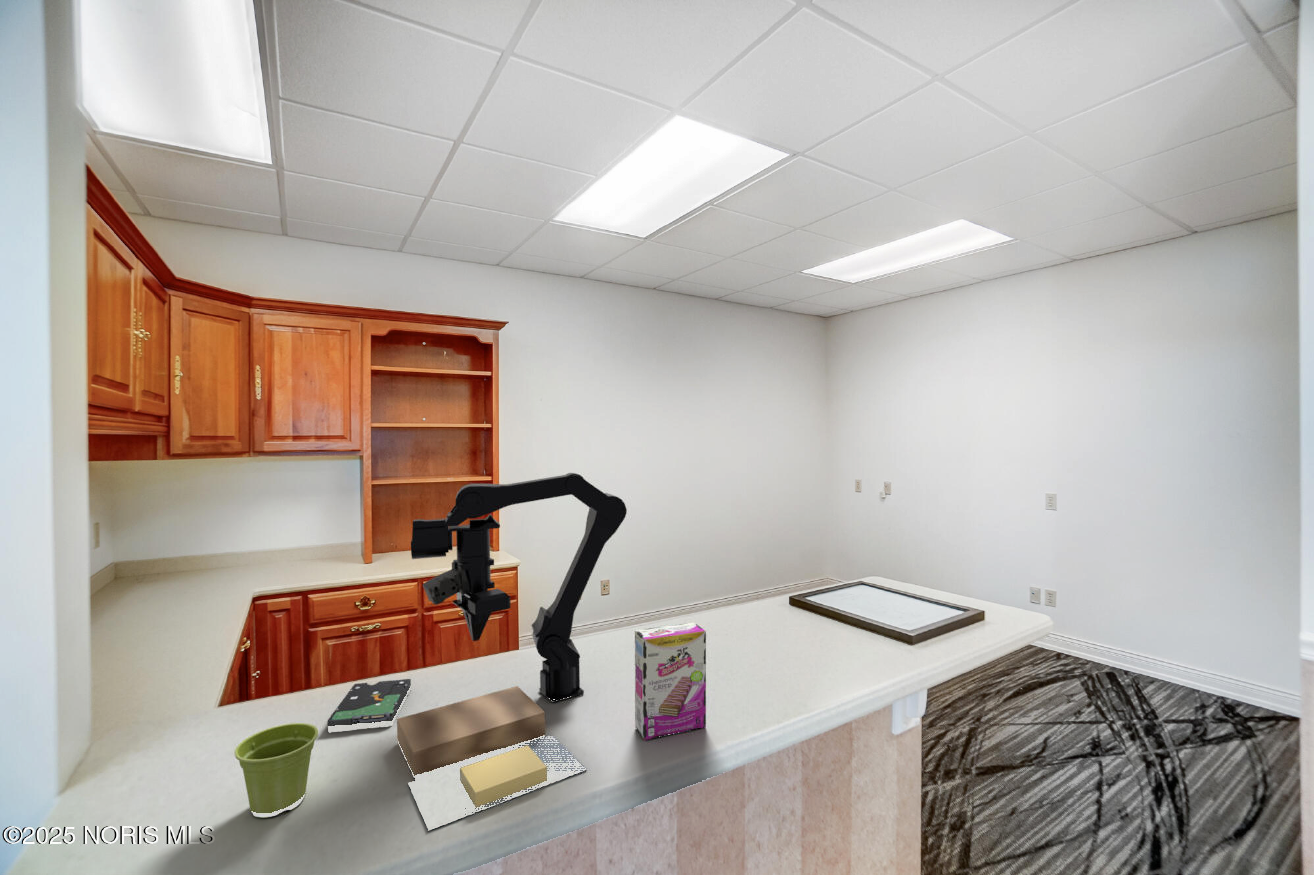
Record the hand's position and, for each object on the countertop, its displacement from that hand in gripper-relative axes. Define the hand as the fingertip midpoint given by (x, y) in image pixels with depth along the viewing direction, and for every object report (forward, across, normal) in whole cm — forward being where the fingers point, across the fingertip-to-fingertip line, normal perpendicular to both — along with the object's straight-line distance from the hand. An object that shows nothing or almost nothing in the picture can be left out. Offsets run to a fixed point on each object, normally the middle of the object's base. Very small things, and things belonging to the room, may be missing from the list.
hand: (475, 640), depth 105 cm
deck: (+12, +11, -5) cm, 17 cm away
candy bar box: (+12, +28, +22) cm, 38 cm away
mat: (+12, +24, -6) cm, 27 cm away
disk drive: (+13, -11, -15) cm, 23 cm away
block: (+10, +25, -6) cm, 28 cm away
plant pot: (+12, +11, -31) cm, 35 cm away
